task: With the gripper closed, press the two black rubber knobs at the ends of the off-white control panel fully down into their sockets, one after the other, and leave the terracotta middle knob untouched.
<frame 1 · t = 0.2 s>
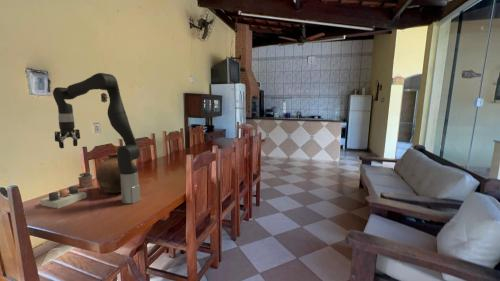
hand: (68, 147, 150), 29 cm above the table, fingers open, 8 cm apart
pottery: (118, 191, 157), on the table
black knob left: (53, 196, 133), point 5 cm above the table, slide at 0.0 cm
terracotta knob middle: (63, 192, 138), point 5 cm above the table, slide at 0.0 cm
black knob right: (73, 189, 144), point 5 cm above the table, slide at 0.0 cm
control panel: (64, 201, 139), on the table
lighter: (86, 187, 162), on the table
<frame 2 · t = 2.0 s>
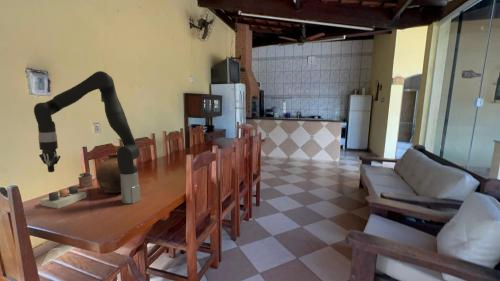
hand: (51, 171, 131), 19 cm above the table, fingers closed
nothing on the table moved.
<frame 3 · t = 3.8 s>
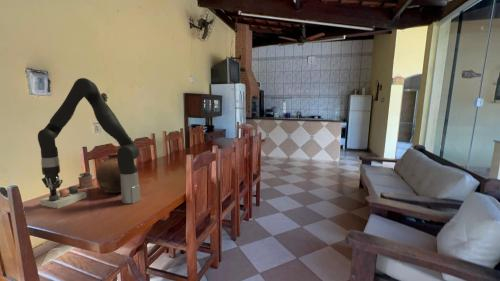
hand: (53, 195, 133), 5 cm above the table, fingers closed
black knob left: (53, 198, 133), point 4 cm above the table, slide at 1.3 cm, touching gripper
everything else where it was.
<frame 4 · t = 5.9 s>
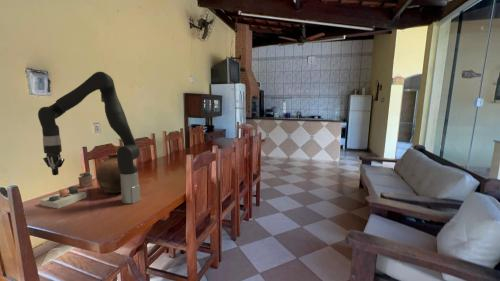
hand: (55, 174, 133), 17 cm above the table, fingers closed
black knob left: (54, 200, 134), point 3 cm above the table, slide at 2.3 cm
everything else where it was.
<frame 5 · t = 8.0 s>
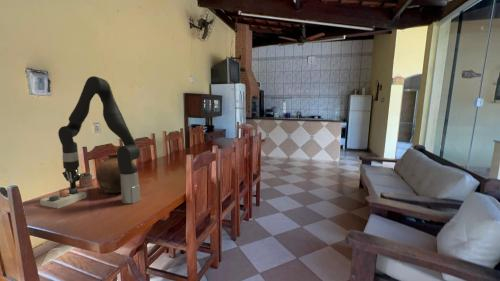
hand: (73, 188, 144), 6 cm above the table, fingers closed
black knob right: (73, 190, 144), point 4 cm above the table, slide at 0.7 cm, touching gripper
everything else where it was.
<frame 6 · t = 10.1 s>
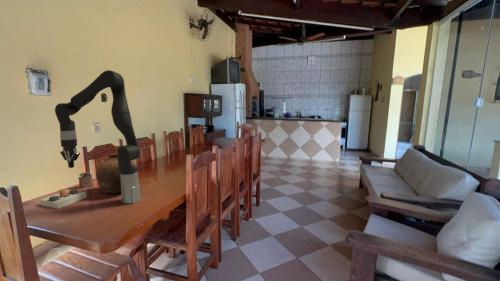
hand: (71, 167, 142), 19 cm above the table, fingers closed
black knob right: (73, 193, 144), point 3 cm above the table, slide at 2.3 cm
everything else where it was.
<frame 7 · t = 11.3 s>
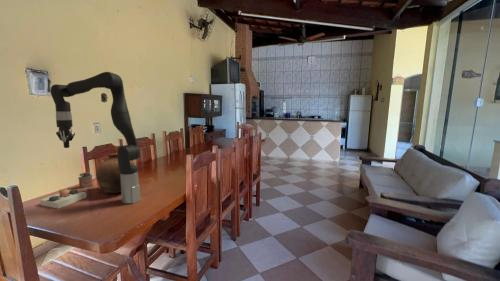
hand: (66, 147, 146), 29 cm above the table, fingers closed
nothing on the table moved.
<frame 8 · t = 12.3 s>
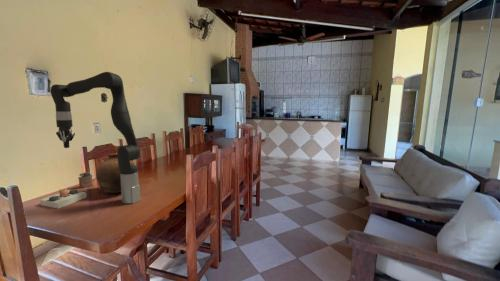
hand: (66, 147, 146), 29 cm above the table, fingers closed
nothing on the table moved.
at the end: black knob left slide at 2.3 cm; black knob right slide at 2.3 cm; terracotta knob middle slide at 0.0 cm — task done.
